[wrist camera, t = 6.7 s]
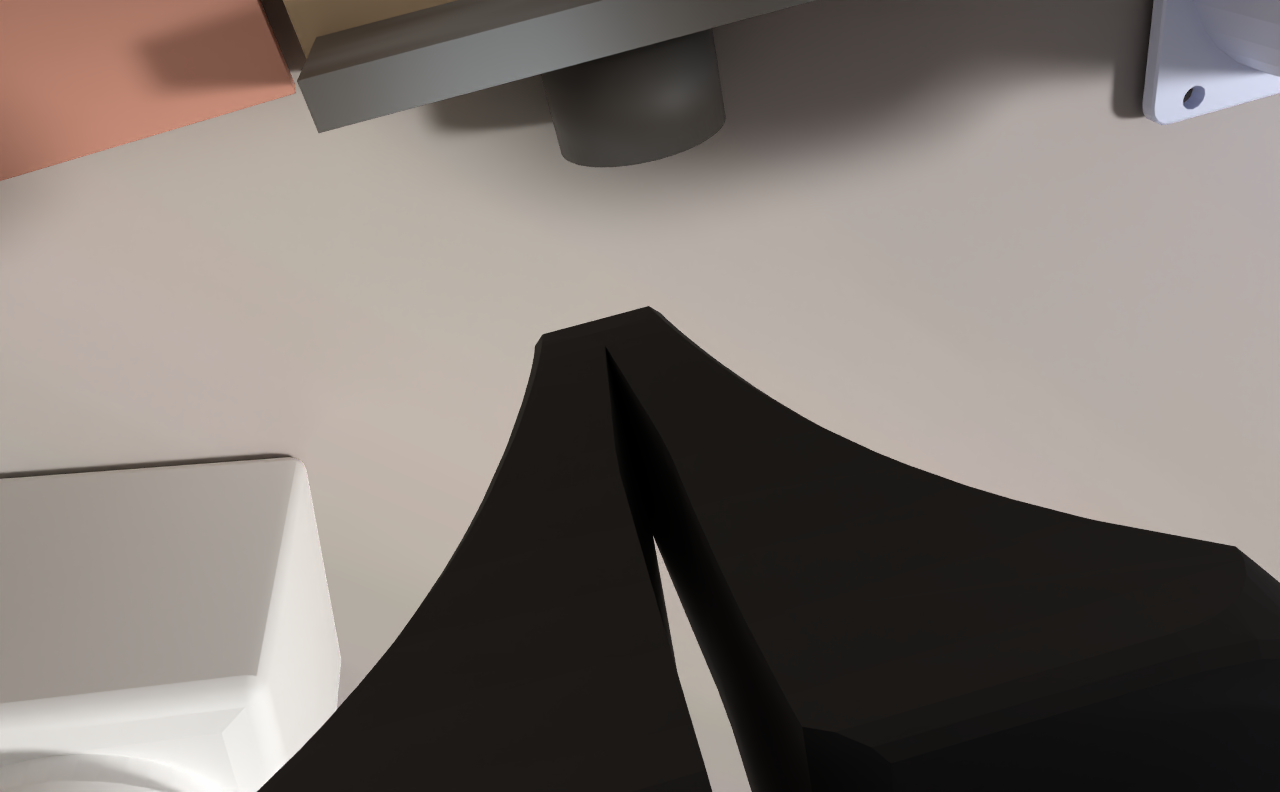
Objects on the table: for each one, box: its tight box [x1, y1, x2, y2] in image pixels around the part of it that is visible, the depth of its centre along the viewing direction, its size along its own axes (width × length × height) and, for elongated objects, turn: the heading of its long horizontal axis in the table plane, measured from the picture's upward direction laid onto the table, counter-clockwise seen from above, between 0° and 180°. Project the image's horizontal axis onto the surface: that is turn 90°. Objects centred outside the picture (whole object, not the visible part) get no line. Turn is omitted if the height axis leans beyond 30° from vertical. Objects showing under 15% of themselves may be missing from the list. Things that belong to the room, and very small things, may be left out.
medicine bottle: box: [0, 457, 341, 792], centre depth 18 cm, size 7×7×12 cm
